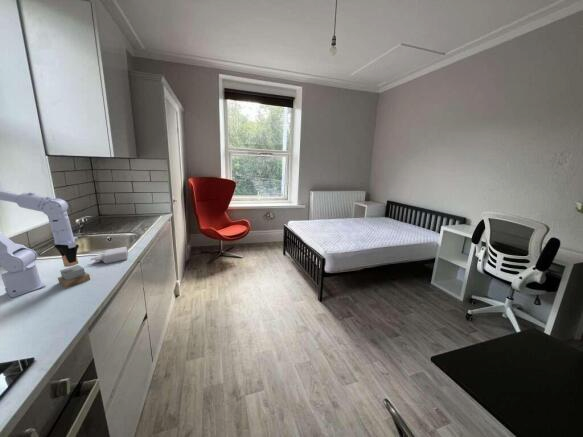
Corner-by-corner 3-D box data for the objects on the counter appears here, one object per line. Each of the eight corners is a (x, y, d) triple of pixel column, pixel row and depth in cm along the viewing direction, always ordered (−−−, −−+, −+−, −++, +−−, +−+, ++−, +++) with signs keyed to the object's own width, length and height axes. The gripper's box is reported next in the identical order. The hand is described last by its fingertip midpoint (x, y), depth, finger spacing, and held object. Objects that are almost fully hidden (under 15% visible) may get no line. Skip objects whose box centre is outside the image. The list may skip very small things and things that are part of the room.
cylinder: (66, 267, 97) (63, 258, 96) (62, 265, 99) (60, 256, 98) (80, 263, 101) (77, 254, 100) (76, 261, 103) (73, 252, 102)
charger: (93, 260, 122) (128, 254, 130) (90, 267, 115) (127, 260, 122) (90, 252, 121) (126, 245, 129) (87, 258, 114) (125, 251, 121)
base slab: (66, 289, 97) (64, 282, 96) (59, 284, 101) (57, 277, 100) (90, 280, 103) (89, 274, 102) (83, 276, 107) (81, 269, 107)
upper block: (67, 280, 97) (65, 274, 96) (61, 277, 100) (60, 270, 100) (85, 274, 102) (83, 268, 101) (79, 271, 105) (78, 265, 104)
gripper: (81, 229, 96) (89, 260, 99) (67, 224, 103) (75, 253, 107) (58, 234, 90) (67, 267, 93) (45, 228, 97) (54, 259, 101)
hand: (70, 260), depth 100 cm, fingers closed on cylinder, 4 cm apart
